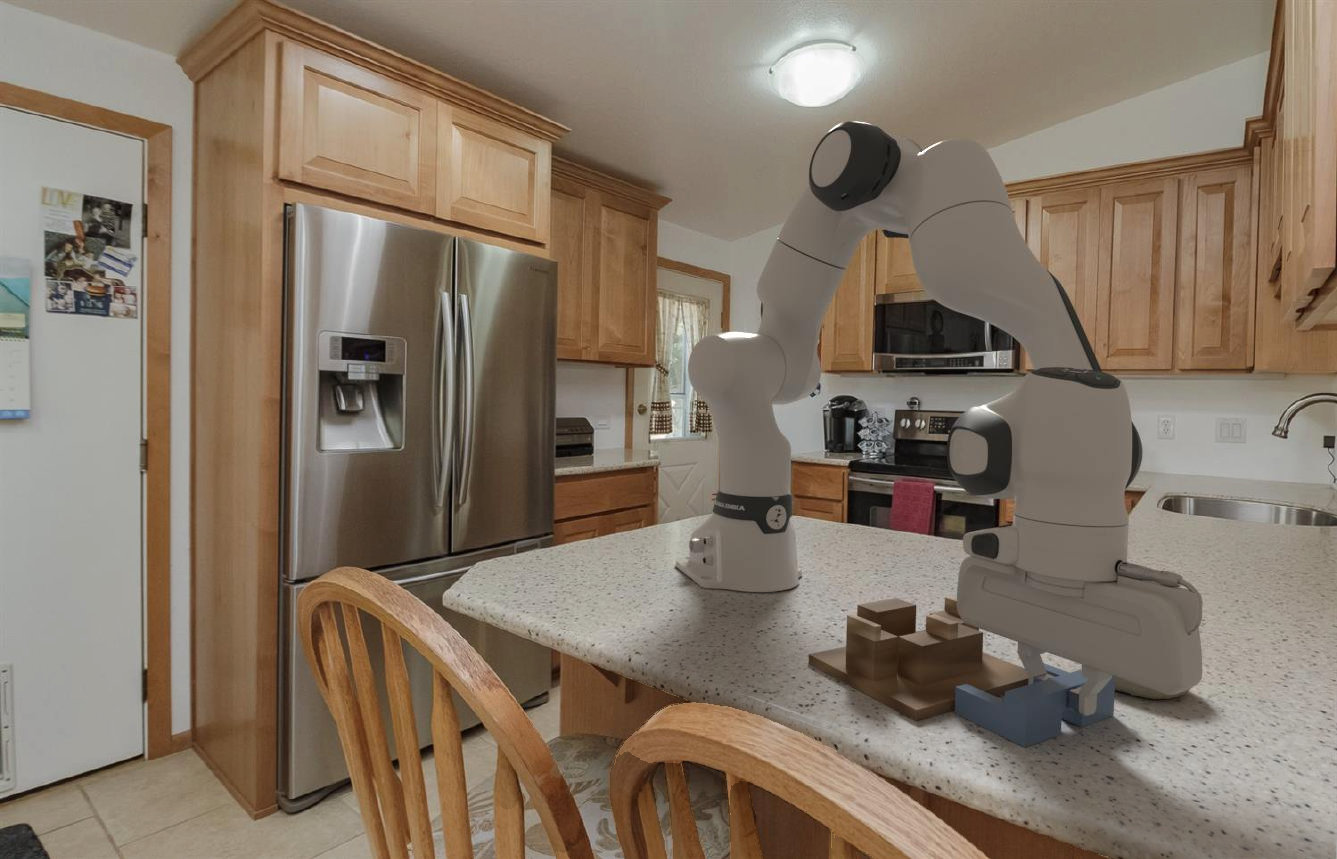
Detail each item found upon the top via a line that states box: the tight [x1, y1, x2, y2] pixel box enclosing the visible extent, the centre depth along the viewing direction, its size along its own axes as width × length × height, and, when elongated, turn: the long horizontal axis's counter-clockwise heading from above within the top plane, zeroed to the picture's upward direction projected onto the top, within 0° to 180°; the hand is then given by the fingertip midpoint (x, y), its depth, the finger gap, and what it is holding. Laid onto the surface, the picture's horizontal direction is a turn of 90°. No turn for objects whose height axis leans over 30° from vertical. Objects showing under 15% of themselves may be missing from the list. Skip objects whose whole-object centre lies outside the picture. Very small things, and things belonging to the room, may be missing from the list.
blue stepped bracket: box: [954, 662, 1116, 748], centre depth 63 cm, size 7×13×4 cm, turn 118°
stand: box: [808, 596, 1029, 722], centre depth 73 cm, size 15×18×7 cm
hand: (1061, 702), depth 61 cm, fingers open, 2 cm apart
